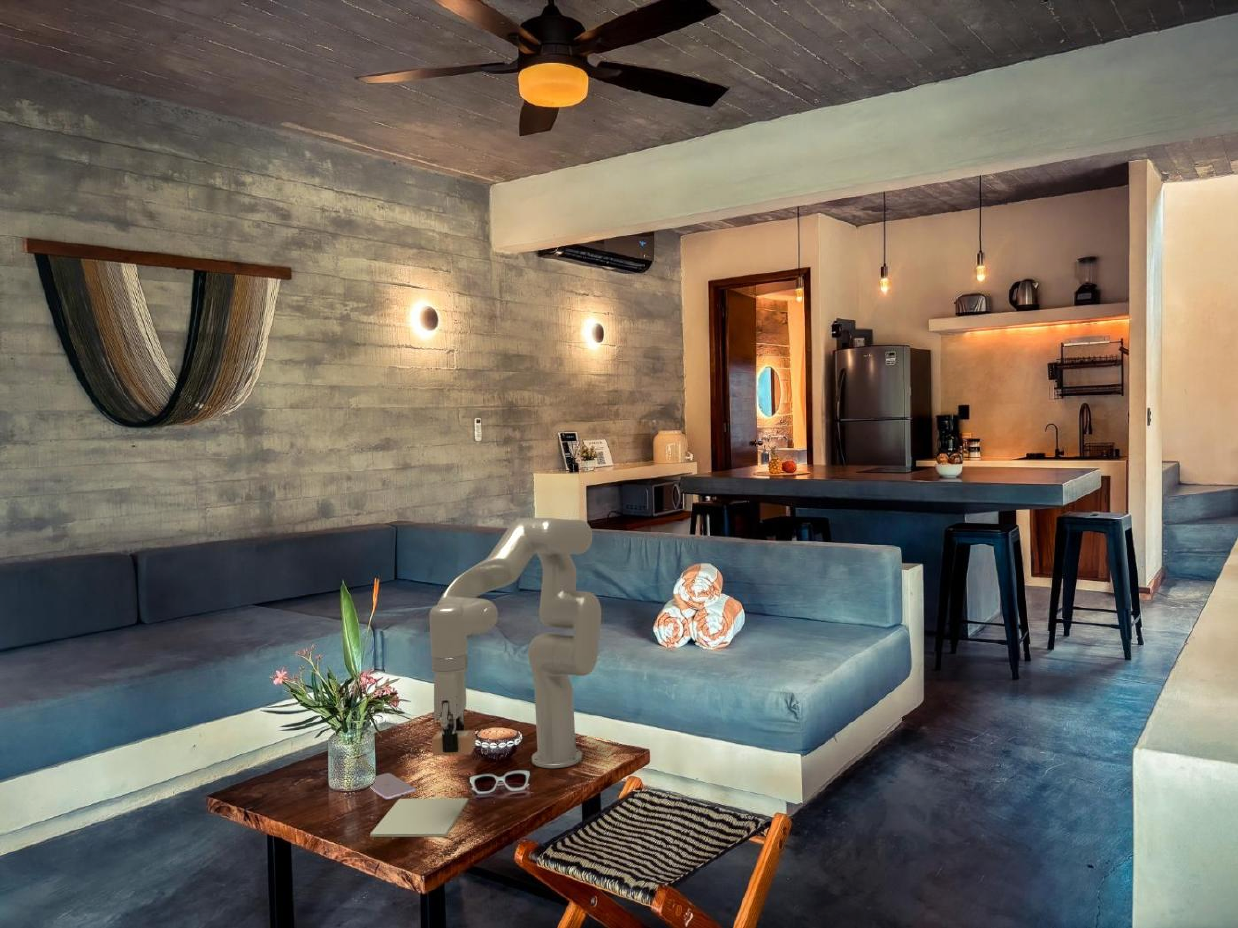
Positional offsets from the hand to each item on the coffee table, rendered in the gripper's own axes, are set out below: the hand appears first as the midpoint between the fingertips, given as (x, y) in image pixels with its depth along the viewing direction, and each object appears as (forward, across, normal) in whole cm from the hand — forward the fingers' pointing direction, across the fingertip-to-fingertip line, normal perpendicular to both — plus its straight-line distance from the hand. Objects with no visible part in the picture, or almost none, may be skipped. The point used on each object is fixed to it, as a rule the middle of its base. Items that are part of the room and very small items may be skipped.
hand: (454, 746), depth 198 cm
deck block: (+1, 0, 0) cm, 1 cm away
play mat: (+16, 0, -8) cm, 18 cm away
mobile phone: (+16, -19, -21) cm, 33 cm away
